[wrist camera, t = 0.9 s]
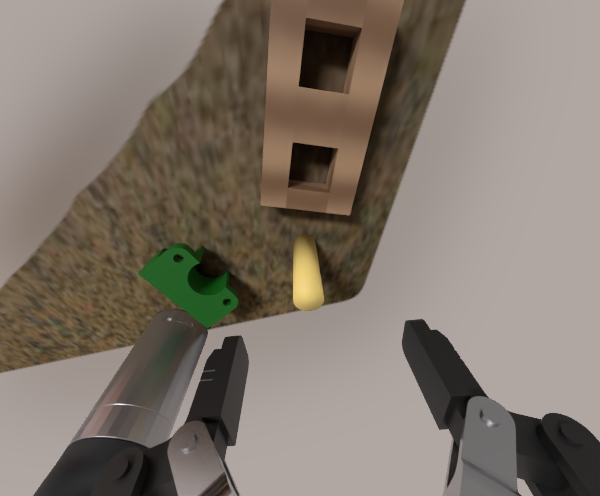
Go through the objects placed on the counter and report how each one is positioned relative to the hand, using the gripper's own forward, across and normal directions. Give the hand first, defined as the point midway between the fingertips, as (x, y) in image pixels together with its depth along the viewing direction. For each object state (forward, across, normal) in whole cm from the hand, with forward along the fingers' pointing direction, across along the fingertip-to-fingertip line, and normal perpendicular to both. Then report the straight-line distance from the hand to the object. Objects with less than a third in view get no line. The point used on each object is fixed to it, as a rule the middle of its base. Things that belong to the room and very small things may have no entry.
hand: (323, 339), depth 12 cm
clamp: (+22, +15, +8) cm, 28 cm away
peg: (+21, 0, +6) cm, 22 cm away
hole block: (+21, -2, -9) cm, 23 cm away
